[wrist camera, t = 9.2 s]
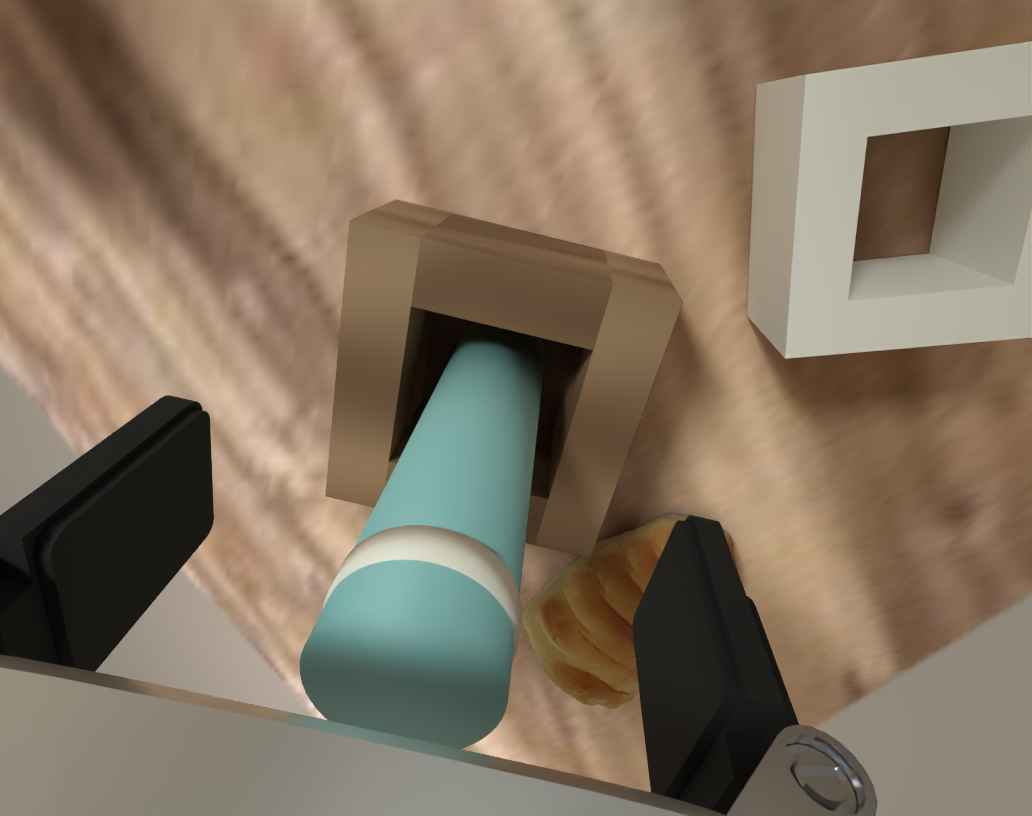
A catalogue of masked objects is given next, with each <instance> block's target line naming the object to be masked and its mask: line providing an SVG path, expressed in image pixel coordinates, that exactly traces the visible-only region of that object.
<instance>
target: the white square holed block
mask: <svg viewBox="0 0 1032 816" xmlns="http://www.w3.org/2000/svg"><path fill="white" fill-rule="evenodd" d="M946 126H951V127H950V133H949V139H948V145H947V151H946V157H945V162H944V168H943V174H942V180H941V186H940V191H939V197H938V203H937V209H936V215H935V221H934V226H933V232H932V238H931V244H930V250H929V253H927V254H918V255H908V256H899V257H889V258H880V259H871V260H861V261H853V256H854V247H855V239H856V230H857V222H858V213H859V204H860V196H861V187H862V179H863V170H864V162H865V153H866V145H867V137H870V136H877V135H885V134H893V133H900V132H908V131H915V130H923V129H931V128H938V127H946ZM747 316H748V318H749V319H750V320H751V321H752V322H753V323H754V324H755V325H756V327H757V328H758V329H759V330H760V331H761V332H762V333H763V334H764V335H765V337H766V338H767V339H768V340H769V341H770V342H771V343H772V344H773V346H774V347H775V348H776V349H777V350H778V351H779V352H780V353H781V354H782V356H783V357H784V358H785V359H787V358H798V357H810V356H822V355H833V354H845V353H857V352H868V351H880V350H891V349H903V348H915V347H926V346H938V345H950V344H961V343H973V342H985V341H996V340H1008V339H1020V338H1031V337H1032V41H1030V42H1023V43H1017V44H1010V45H1003V46H996V47H990V48H983V49H976V50H969V51H962V52H956V53H949V54H942V55H935V56H928V57H922V58H915V59H908V60H901V61H894V62H888V63H881V64H874V65H867V66H861V67H854V68H847V69H840V70H833V71H827V72H820V73H813V74H806V75H801V76H796V77H791V78H786V79H781V80H775V81H770V82H765V83H760V84H757V89H756V113H755V137H754V161H753V185H752V209H751V233H750V258H749V282H748V306H747Z"/></svg>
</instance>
